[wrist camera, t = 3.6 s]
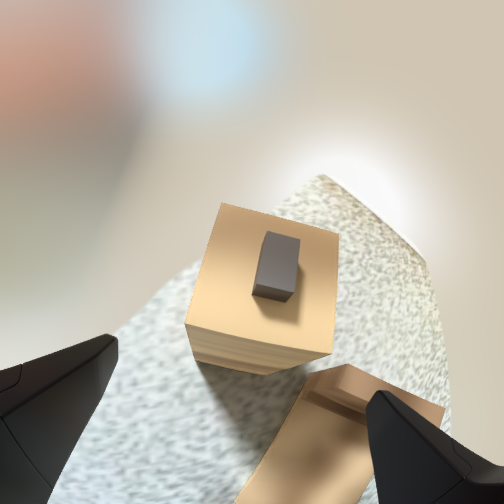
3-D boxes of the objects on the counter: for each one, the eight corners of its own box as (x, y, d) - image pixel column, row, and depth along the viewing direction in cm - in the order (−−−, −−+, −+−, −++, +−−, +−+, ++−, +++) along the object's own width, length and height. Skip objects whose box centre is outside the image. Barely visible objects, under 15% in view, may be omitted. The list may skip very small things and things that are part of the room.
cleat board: (395, 411, 18) (445, 408, 12) (334, 526, 12) (371, 553, 7) (309, 373, 19) (348, 363, 13) (233, 500, 13) (246, 536, 8)
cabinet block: (264, 375, 18) (345, 348, 8) (194, 360, 18) (182, 314, 7) (275, 311, 21) (349, 220, 10) (211, 296, 20) (223, 185, 10)
